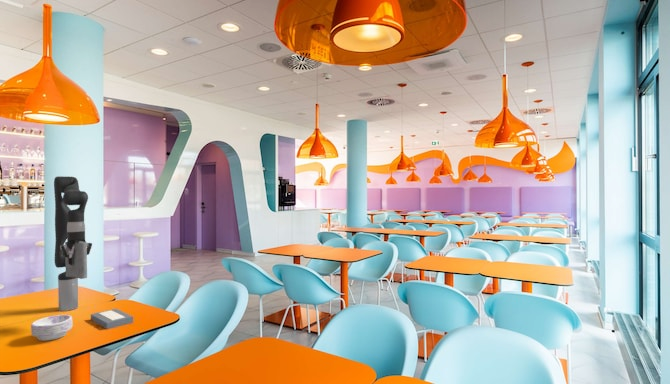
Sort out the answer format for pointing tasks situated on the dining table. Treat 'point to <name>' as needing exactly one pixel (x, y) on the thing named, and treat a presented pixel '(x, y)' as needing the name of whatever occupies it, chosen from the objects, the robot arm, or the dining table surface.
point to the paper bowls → (51, 327)
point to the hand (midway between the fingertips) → (76, 264)
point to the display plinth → (111, 318)
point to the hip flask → (77, 261)
